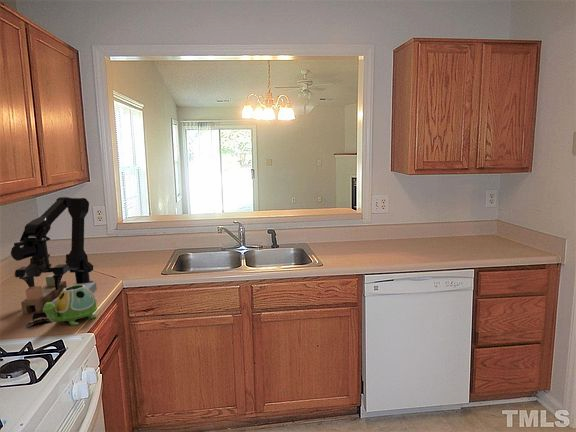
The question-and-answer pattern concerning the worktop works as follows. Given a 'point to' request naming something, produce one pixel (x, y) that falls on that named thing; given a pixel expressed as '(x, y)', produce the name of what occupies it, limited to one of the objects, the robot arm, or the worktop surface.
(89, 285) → the dock
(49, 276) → the block
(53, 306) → the turtle holder
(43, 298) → the pallet
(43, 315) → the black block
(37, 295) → the salmon brown cube
